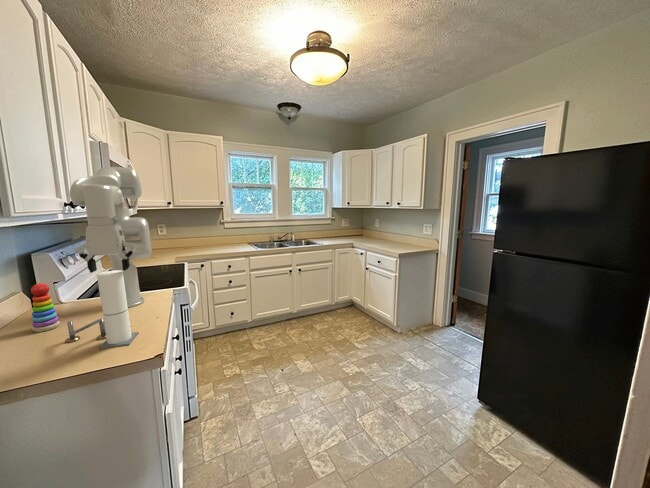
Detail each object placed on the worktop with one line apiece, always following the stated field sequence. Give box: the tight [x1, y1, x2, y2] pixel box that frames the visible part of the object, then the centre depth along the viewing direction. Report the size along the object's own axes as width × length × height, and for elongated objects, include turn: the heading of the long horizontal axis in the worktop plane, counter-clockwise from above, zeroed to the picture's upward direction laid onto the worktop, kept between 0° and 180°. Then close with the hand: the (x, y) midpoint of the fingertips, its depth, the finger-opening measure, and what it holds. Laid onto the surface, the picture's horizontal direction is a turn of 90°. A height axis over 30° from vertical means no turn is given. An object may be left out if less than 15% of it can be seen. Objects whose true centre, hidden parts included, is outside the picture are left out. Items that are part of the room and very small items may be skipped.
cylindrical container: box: [96, 270, 132, 344], centre depth 97 cm, size 7×7×25 cm
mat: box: [98, 331, 140, 350], centre depth 99 cm, size 9×9×1 cm
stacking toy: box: [30, 282, 61, 333], centre depth 108 cm, size 8×8×19 cm
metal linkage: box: [65, 318, 107, 344], centre depth 96 cm, size 14×14×8 cm
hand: (109, 270), depth 95 cm, fingers open, 9 cm apart
